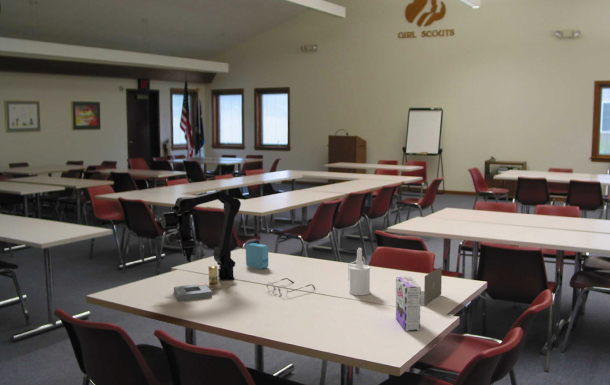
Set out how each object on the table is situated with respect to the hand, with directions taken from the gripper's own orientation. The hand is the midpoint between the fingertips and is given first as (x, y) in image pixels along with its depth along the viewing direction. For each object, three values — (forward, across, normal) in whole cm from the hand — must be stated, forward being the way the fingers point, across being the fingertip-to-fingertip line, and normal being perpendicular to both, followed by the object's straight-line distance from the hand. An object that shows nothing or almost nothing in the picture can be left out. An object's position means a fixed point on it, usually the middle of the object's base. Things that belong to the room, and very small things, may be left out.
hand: (186, 258), depth 260 cm
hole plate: (+13, +15, 0) cm, 20 cm away
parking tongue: (+13, +7, +10) cm, 18 cm away
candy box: (+14, +82, +68) cm, 108 cm away
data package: (+14, -21, +39) cm, 46 cm away
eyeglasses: (+14, +24, +42) cm, 50 cm away
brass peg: (+12, +7, +10) cm, 17 cm away
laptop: (+15, +56, +89) cm, 106 cm away
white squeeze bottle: (+15, +39, +69) cm, 80 cm away
